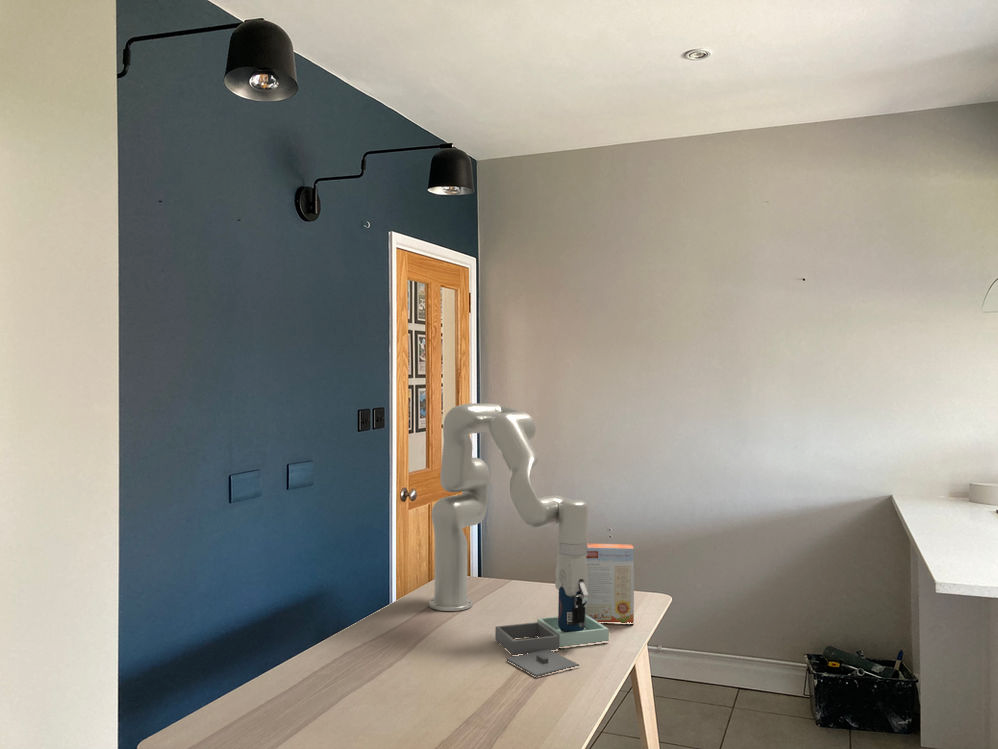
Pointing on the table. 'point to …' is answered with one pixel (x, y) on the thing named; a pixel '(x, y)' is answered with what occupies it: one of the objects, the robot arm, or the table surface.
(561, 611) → the soda can
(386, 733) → the table surface
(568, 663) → the lid
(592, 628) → the bin
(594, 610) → the cracker box
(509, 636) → the bin
